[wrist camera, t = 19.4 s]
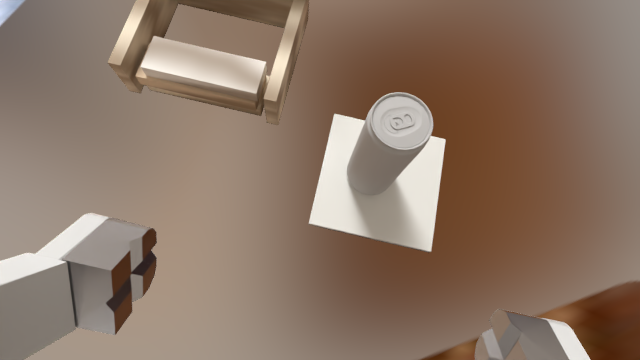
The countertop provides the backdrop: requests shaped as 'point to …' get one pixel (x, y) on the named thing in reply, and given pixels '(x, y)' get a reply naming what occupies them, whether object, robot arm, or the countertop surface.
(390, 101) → the beverage can
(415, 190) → the ceramic tile
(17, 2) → the countertop surface
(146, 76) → the light wood bar
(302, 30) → the birch rack
